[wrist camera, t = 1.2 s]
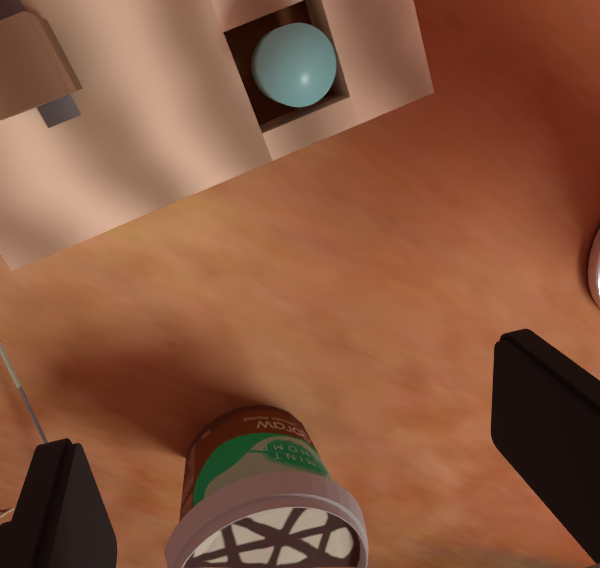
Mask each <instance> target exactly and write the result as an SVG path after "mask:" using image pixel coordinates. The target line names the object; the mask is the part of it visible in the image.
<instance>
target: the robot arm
mask: <svg viewBox="0 0 600 568" xmlns="http://www.w3.org/2000/svg"><path fill="white" fill-rule="evenodd" d="M588 283H589V288H590V291H591V295H592V297H593V299H594V301H595V302H596V304H597V306H598V307H599V308H600V228H599V231H598V233H597V235H596V237H595V239H594V242H593V246H592V249H591V252H590V256H589V264H588ZM491 437H492V440H493V443H494V445H495V446H496V448H497V449H498V450H499V451H500V453H501V454H502V455H503V456H504V457H505V458H506V459H507V461H508V462H509V463H510V464H511V465H512V466H513V468H514V469H515V470H516V471H517V472H518V473H519V475H520V476H521V477H522V478H523V479H524V480H525V482H526V483H527V484H528V485H529V486H530V487H531V489H532V490H533V491H534V492H535V493H536V494H537V495H538V497H539V498H540V499H541V500H542V501H543V502H544V504H545V505H546V506H547V507H548V508H549V509H550V511H551V512H552V513H553V514H554V515H555V516H556V518H557V519H558V520H559V521H560V522H561V523H562V524H563V526H564V527H565V528H566V529H567V530H568V531H569V533H570V534H571V535H572V536H573V537H574V538H575V540H576V541H577V542H578V543H579V544H580V545H581V547H582V548H583V549H584V550H585V551H586V552H587V553H588V555H589V556H590V557H591V558H592V559H593V560H594V562H595V563H596V565H593V566H589V567H586V568H600V381H599V380H598V379H597V378H595V377H594V376H593V375H591V374H590V373H588V372H587V371H586V370H584V369H583V368H582V367H580V366H579V365H577V364H576V363H575V362H573V361H572V360H571V359H569V358H568V357H567V356H565V355H564V354H562V353H561V352H560V351H558V350H557V349H556V348H554V347H553V346H551V345H550V344H549V343H547V342H546V341H545V340H543V339H542V338H540V337H539V336H538V335H536V334H535V333H534V332H532V331H531V330H529V329H522V330H518V331H514V332H509V333H505V334H503V335H502V336H501V338H500V341H499V342H497V343H496V344H495V347H494V368H493V392H492V415H491ZM116 561H117V541H116V537H115V533H114V531H113V528H112V525H111V522H110V520H109V517H108V514H107V512H106V509H105V506H104V504H103V501H102V498H101V496H100V493H99V490H98V487H97V485H96V482H95V479H94V477H93V474H92V471H91V469H90V466H89V463H88V461H87V458H86V455H85V452H84V450H83V447H82V445H81V444H80V443H76V444H72V443H71V441H70V440H69V439H67V438H66V439H62V440H57V441H53V442H49V443H45V444H41V445H38V446H37V447H36V449H35V452H34V455H33V458H32V461H31V464H30V467H29V470H28V473H27V476H26V479H25V482H24V485H23V488H22V491H21V494H20V497H19V500H18V503H17V506H16V509H15V511H14V514H13V517H12V520H11V521H9V522H5V523H2V524H1V525H0V568H116Z"/></svg>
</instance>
